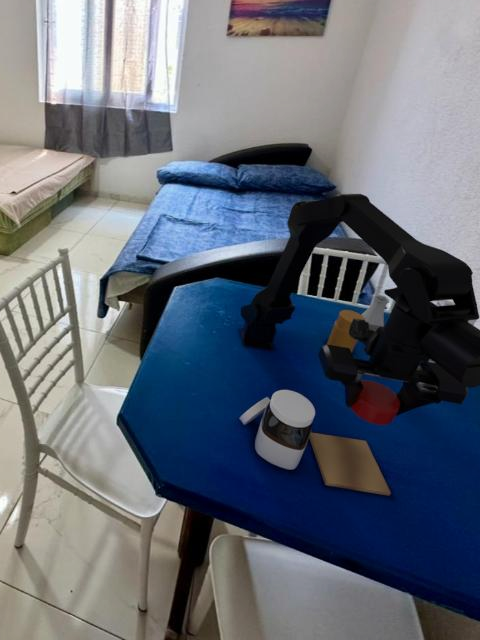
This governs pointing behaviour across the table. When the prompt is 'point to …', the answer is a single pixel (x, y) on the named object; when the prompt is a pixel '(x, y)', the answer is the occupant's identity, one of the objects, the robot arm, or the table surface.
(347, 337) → the orange pill bottle
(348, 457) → the coaster
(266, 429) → the spread jar
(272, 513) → the table surface
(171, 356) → the table surface
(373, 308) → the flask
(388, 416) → the lid
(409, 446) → the table surface
